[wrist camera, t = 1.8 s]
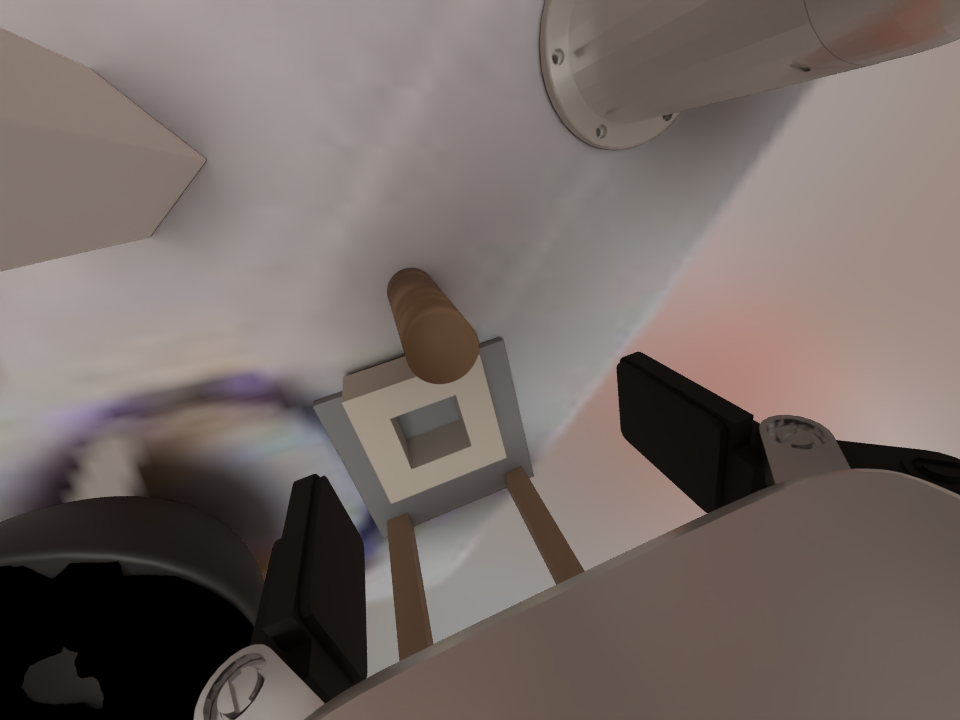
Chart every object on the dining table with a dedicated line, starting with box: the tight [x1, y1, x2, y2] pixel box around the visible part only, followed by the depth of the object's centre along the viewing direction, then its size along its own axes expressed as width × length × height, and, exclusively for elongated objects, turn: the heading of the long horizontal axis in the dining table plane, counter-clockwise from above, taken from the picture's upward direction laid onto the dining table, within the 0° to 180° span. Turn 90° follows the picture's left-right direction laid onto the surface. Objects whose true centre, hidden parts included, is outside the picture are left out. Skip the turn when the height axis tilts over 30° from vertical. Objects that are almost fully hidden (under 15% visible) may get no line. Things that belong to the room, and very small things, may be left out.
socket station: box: [313, 337, 585, 661], centre depth 27 cm, size 16×18×17 cm
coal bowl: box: [0, 496, 264, 720], centre depth 22 cm, size 20×20×19 cm
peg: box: [387, 268, 479, 384], centre depth 23 cm, size 4×4×12 cm
